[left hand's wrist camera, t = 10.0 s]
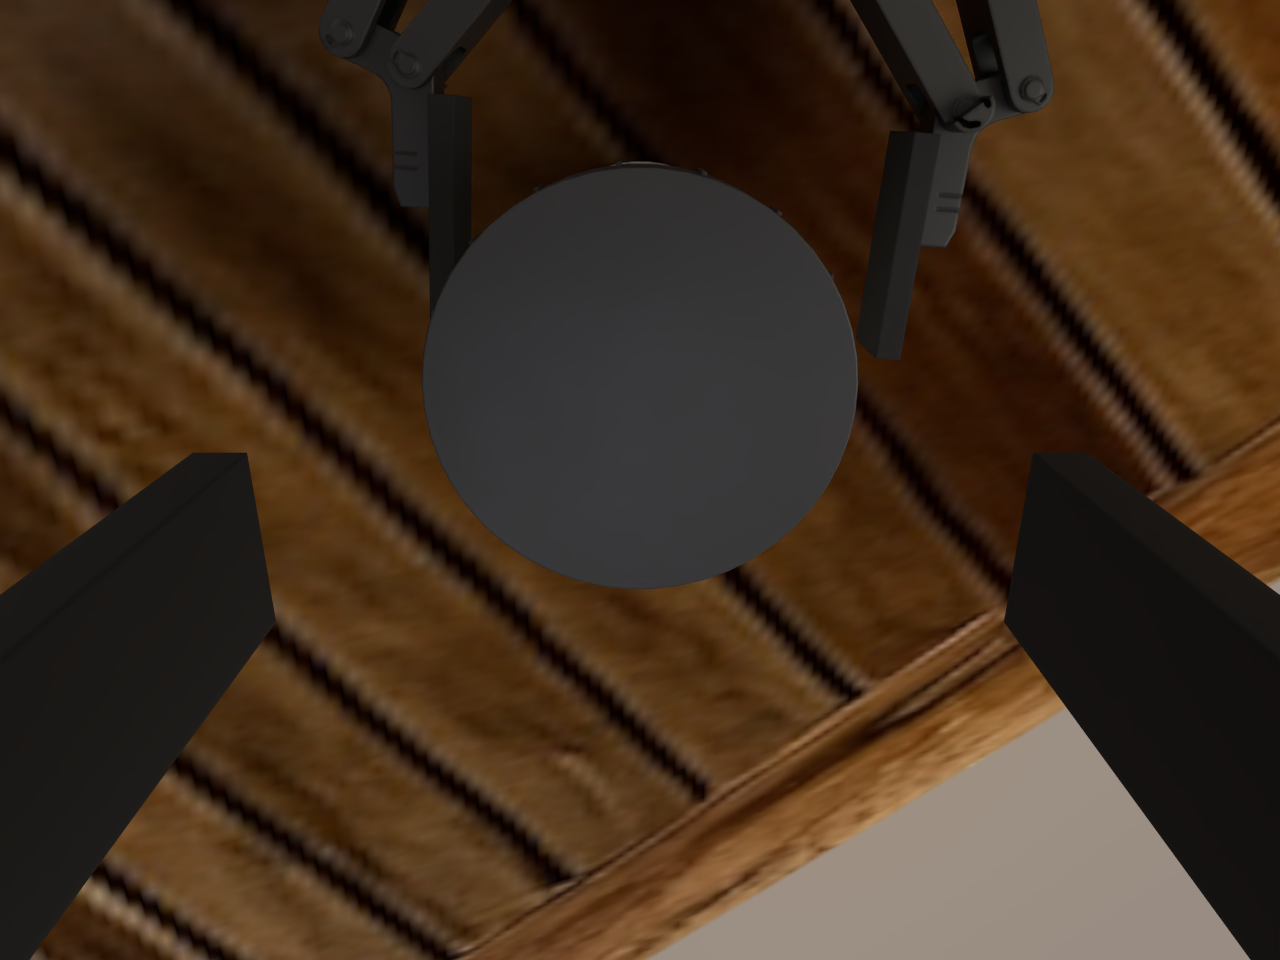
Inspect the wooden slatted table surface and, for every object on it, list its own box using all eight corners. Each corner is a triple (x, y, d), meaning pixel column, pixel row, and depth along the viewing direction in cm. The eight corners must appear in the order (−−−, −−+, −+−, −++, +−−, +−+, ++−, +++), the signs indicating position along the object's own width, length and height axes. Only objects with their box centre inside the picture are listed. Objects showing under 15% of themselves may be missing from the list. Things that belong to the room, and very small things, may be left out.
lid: (721, 612, 24) (728, 652, 22) (378, 459, 22) (355, 489, 21) (919, 285, 21) (947, 300, 19) (537, 79, 19) (525, 75, 17)
